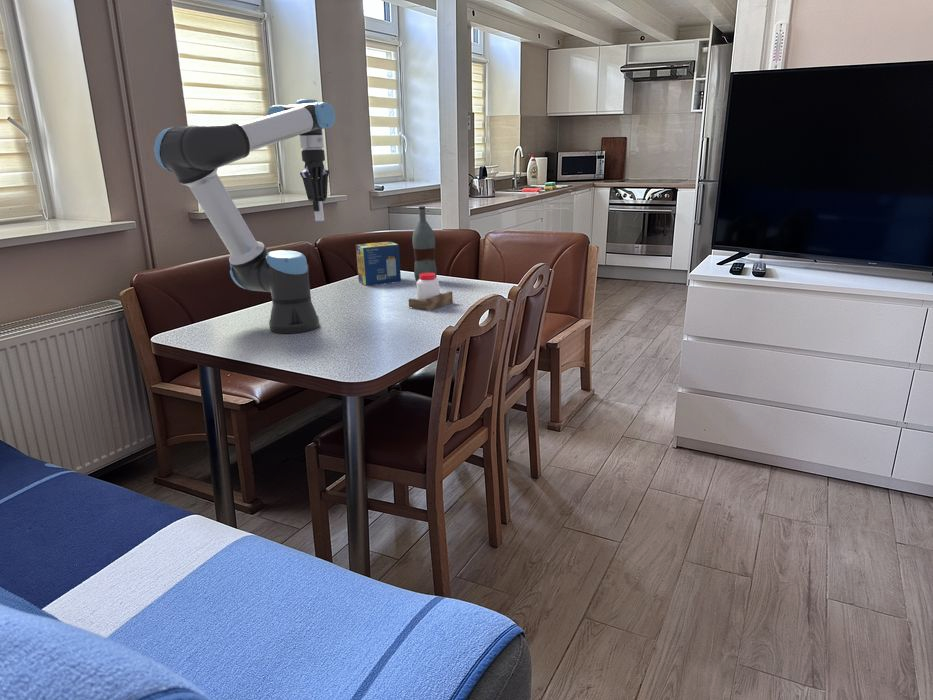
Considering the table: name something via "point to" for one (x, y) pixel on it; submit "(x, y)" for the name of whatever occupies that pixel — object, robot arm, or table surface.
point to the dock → (432, 301)
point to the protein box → (378, 263)
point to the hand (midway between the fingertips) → (319, 220)
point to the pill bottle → (427, 286)
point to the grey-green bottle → (423, 246)
